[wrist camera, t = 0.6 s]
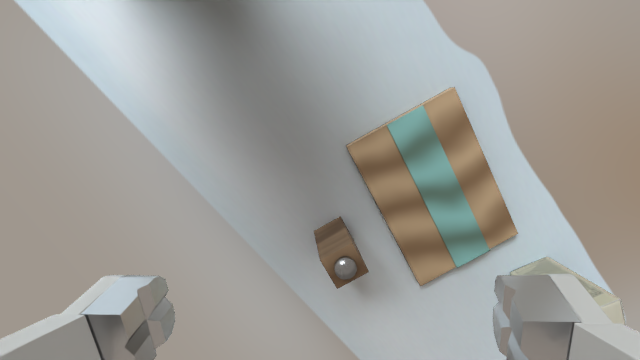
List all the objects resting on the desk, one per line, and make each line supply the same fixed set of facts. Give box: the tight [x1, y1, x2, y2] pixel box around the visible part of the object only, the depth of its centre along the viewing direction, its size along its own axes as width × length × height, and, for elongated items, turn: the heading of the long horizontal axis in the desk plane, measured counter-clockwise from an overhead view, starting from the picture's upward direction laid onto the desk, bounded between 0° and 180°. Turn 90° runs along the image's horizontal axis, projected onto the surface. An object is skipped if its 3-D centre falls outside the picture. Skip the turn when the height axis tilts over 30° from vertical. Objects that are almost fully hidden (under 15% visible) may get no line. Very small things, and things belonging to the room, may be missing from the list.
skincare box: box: [510, 257, 626, 325], centre depth 50 cm, size 6×4×12 cm
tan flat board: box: [346, 87, 518, 286], centre depth 51 cm, size 22×15×2 cm
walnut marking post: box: [314, 217, 369, 289], centre depth 47 cm, size 4×4×10 cm
